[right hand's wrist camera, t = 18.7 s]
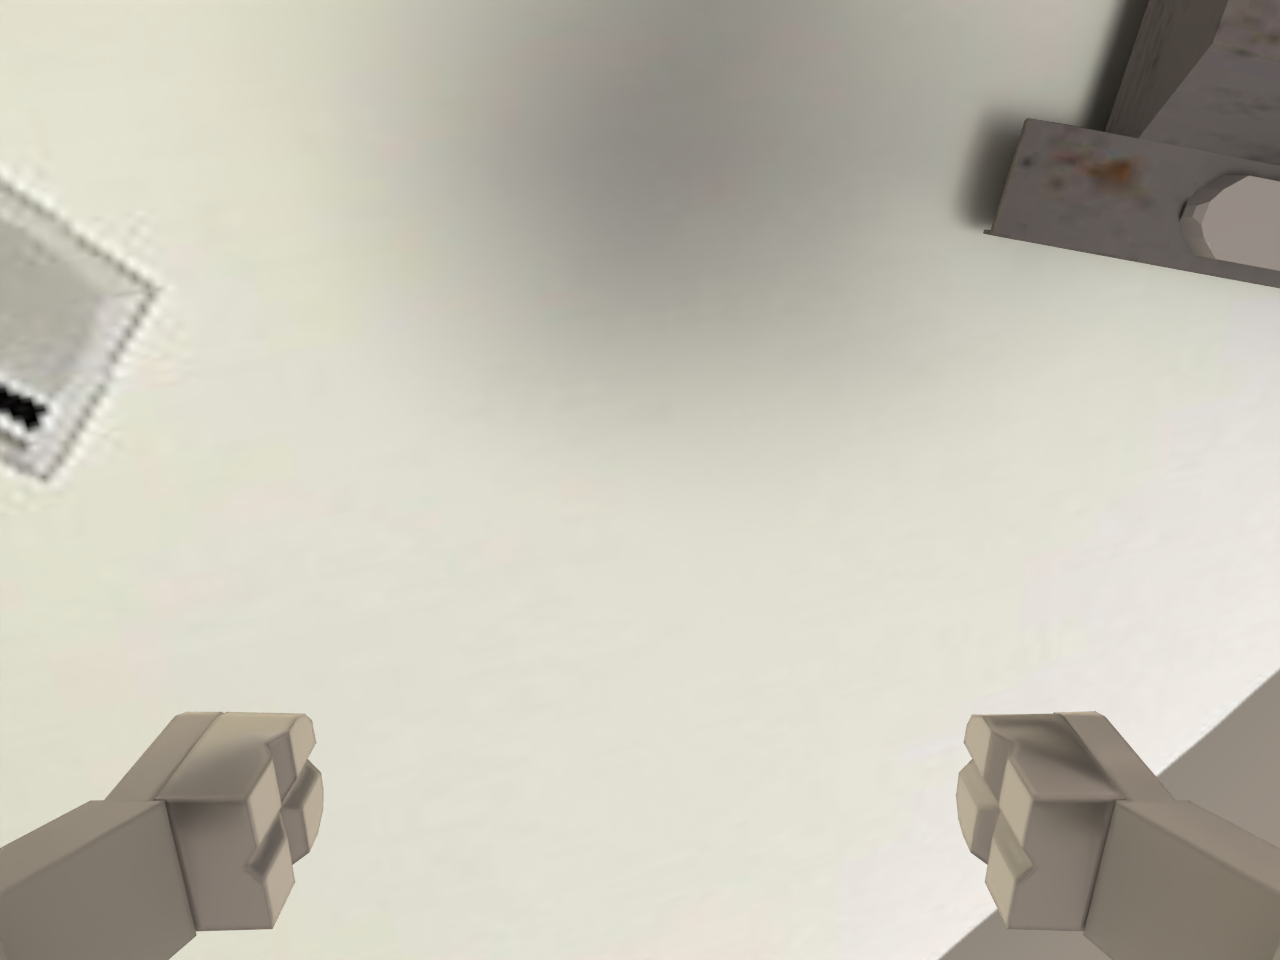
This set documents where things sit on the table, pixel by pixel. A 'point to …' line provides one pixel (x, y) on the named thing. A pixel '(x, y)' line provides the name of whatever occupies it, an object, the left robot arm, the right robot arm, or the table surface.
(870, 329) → the table surface
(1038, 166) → the toy
